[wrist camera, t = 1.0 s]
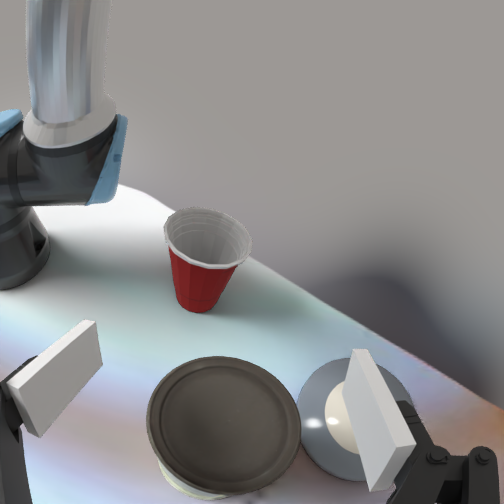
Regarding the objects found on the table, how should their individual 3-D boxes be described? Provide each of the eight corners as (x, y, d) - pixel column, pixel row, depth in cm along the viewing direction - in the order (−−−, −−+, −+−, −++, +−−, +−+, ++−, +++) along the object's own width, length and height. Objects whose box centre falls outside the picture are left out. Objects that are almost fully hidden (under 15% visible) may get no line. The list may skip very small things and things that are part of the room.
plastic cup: (220, 340, 38) (239, 276, 31) (146, 310, 39) (145, 241, 31) (243, 286, 47) (263, 223, 39) (179, 262, 47) (187, 197, 40)
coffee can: (181, 400, 30) (189, 333, 22) (265, 436, 29) (316, 386, 21) (139, 473, 22) (117, 448, 14) (233, 514, 21) (276, 515, 13)
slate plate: (266, 431, 30) (269, 429, 29) (335, 340, 42) (338, 336, 42) (382, 502, 23) (388, 501, 23) (424, 401, 36) (429, 398, 35)
